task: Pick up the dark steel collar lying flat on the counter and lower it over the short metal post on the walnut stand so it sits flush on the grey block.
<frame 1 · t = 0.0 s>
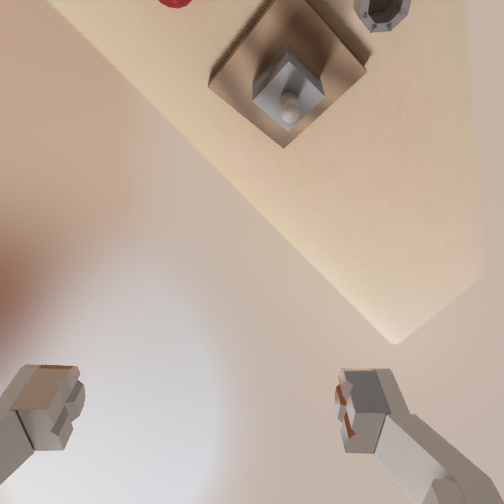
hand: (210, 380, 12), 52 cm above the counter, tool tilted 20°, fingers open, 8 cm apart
post stand: (285, 73, 55), on the counter
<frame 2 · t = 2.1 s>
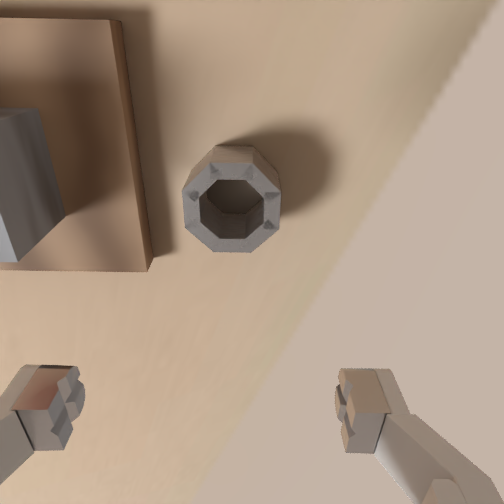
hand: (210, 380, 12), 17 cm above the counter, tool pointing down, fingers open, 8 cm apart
collar: (234, 188, 26), on the counter
post stand: (15, 156, 25), on the counter
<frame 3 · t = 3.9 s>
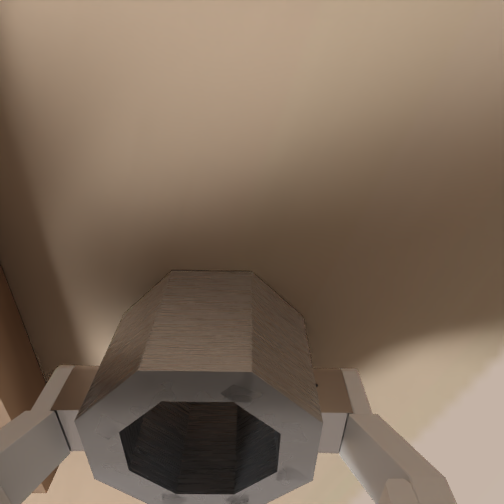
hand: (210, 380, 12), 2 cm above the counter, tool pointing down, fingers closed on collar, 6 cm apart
collar: (214, 342, 13), on the counter, touching gripper
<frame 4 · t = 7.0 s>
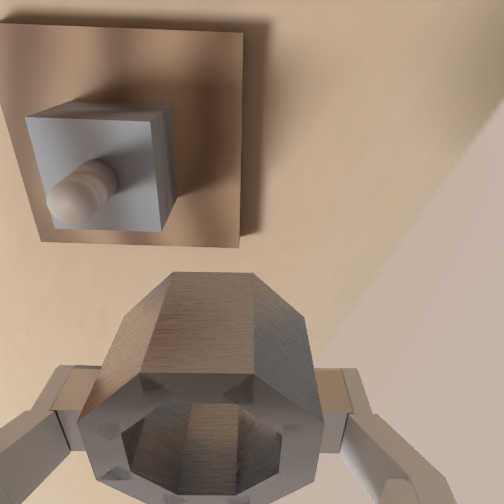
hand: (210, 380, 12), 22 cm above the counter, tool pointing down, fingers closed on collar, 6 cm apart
collar: (216, 343, 13), point 20 cm above the counter, touching gripper
post stand: (135, 145, 29), on the counter
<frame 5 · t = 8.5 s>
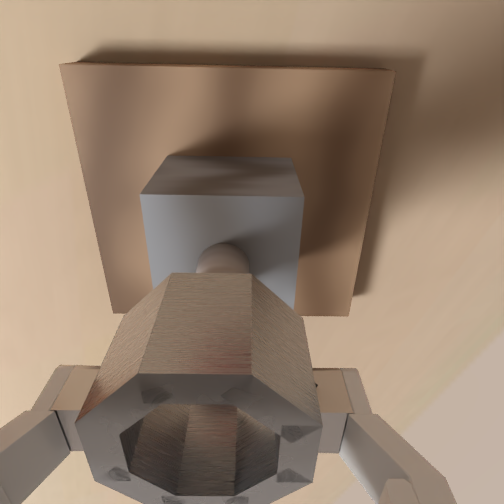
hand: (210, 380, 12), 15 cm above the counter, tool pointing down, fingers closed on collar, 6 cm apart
collar: (214, 344, 13), point 13 cm above the counter, touching gripper
post stand: (231, 200, 24), on the counter
when the fingers open (11 cm above the counter, at t = 9.8 s): collar stays where it is, resting on post stand.
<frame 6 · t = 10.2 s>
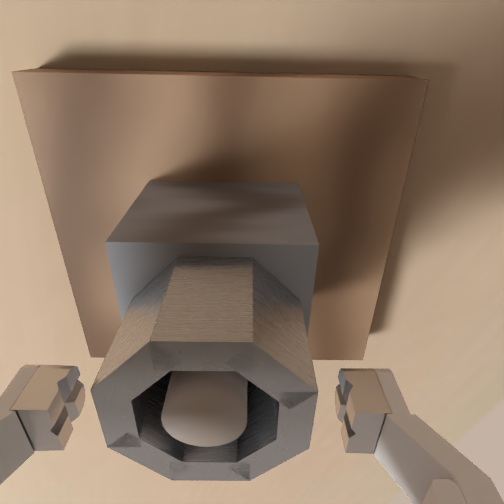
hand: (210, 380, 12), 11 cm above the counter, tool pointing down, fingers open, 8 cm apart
collar: (217, 325, 14), point 8 cm above the counter, touching post stand
post stand: (227, 229, 21), on the counter
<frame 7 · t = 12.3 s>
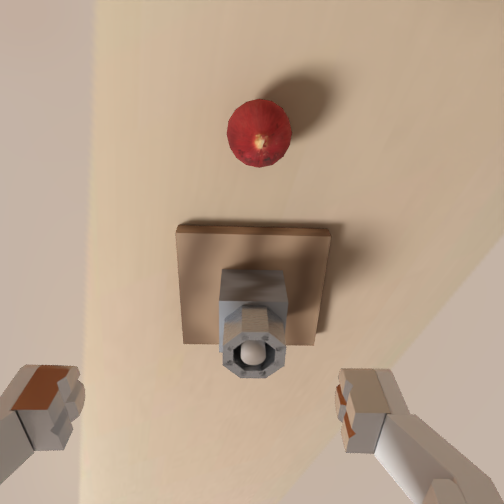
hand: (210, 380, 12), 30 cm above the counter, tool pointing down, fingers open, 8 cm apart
collar: (253, 328, 39), point 8 cm above the counter, touching post stand
red rounded piece: (257, 126, 37), on the counter
post stand: (250, 285, 46), on the counter
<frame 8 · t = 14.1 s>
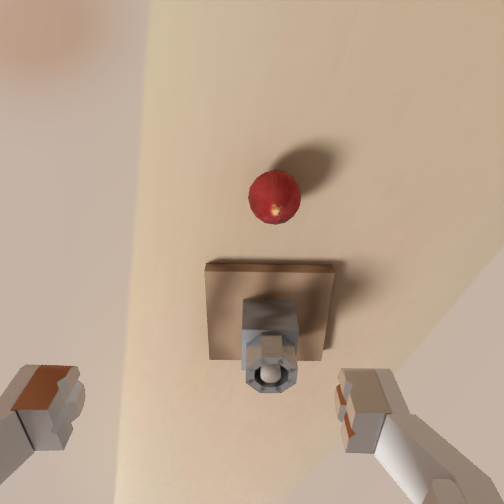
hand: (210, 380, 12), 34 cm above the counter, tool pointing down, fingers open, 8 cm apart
collar: (269, 350, 47), point 8 cm above the counter, touching post stand
red rounded piece: (272, 185, 44), on the counter
post stand: (266, 310, 54), on the counter
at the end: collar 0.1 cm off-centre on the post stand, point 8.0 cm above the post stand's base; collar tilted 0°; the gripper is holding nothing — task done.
